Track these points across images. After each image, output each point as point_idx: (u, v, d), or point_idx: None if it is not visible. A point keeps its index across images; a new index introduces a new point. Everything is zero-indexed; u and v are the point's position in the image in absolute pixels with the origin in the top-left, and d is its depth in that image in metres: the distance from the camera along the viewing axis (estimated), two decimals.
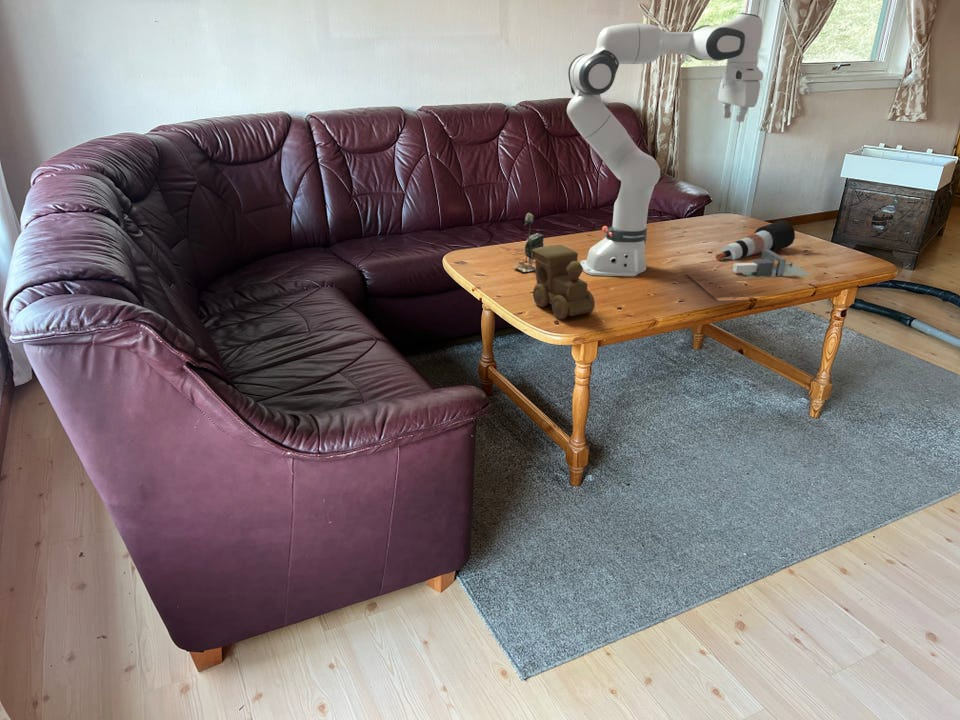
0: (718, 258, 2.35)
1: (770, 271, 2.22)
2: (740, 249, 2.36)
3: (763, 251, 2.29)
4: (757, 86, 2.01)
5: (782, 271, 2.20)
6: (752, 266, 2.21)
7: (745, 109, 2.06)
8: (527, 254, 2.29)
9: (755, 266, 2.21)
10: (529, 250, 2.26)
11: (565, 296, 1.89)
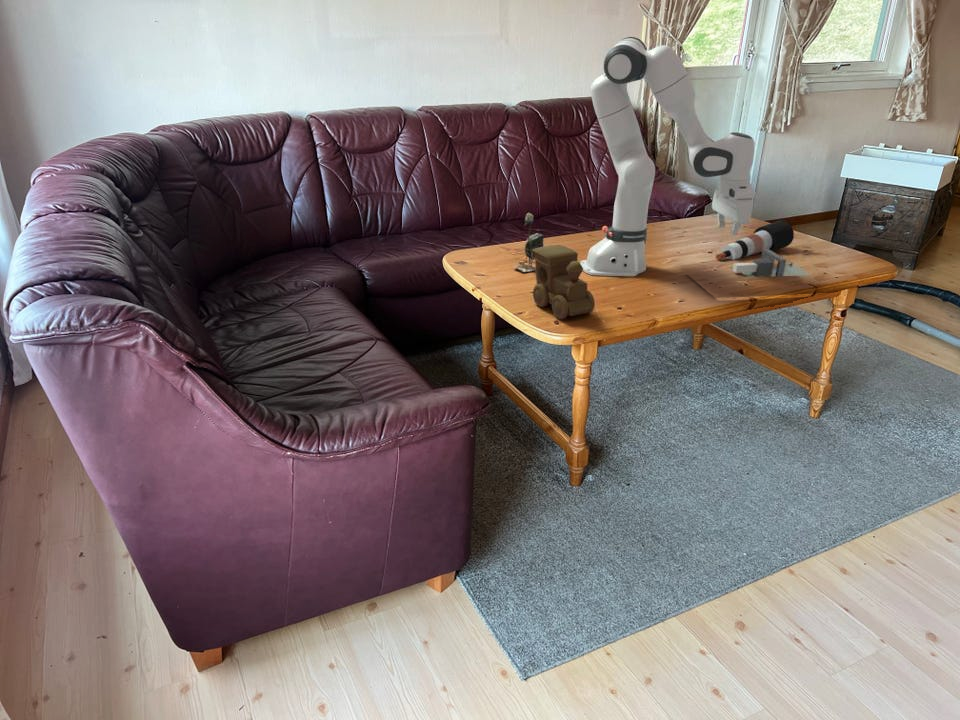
0: (718, 258, 2.35)
1: (770, 271, 2.22)
2: (740, 249, 2.36)
3: (763, 251, 2.29)
4: (749, 204, 2.03)
5: (782, 271, 2.20)
6: (752, 266, 2.21)
7: (739, 223, 2.09)
8: (527, 254, 2.29)
9: (755, 266, 2.21)
10: (529, 250, 2.26)
11: (565, 296, 1.89)
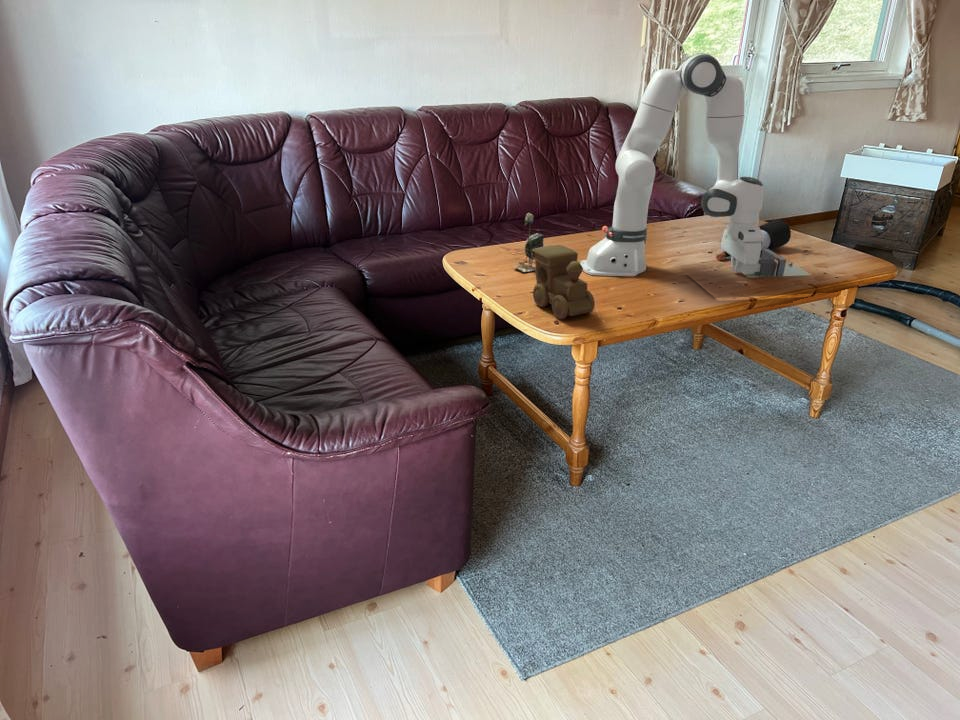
0: (718, 258, 2.35)
1: (773, 271, 2.22)
2: None
3: (763, 251, 2.29)
4: (758, 247, 2.09)
5: (782, 271, 2.20)
6: (755, 266, 2.21)
7: None
8: (527, 254, 2.29)
9: (758, 266, 2.21)
10: (529, 250, 2.26)
11: (565, 296, 1.89)
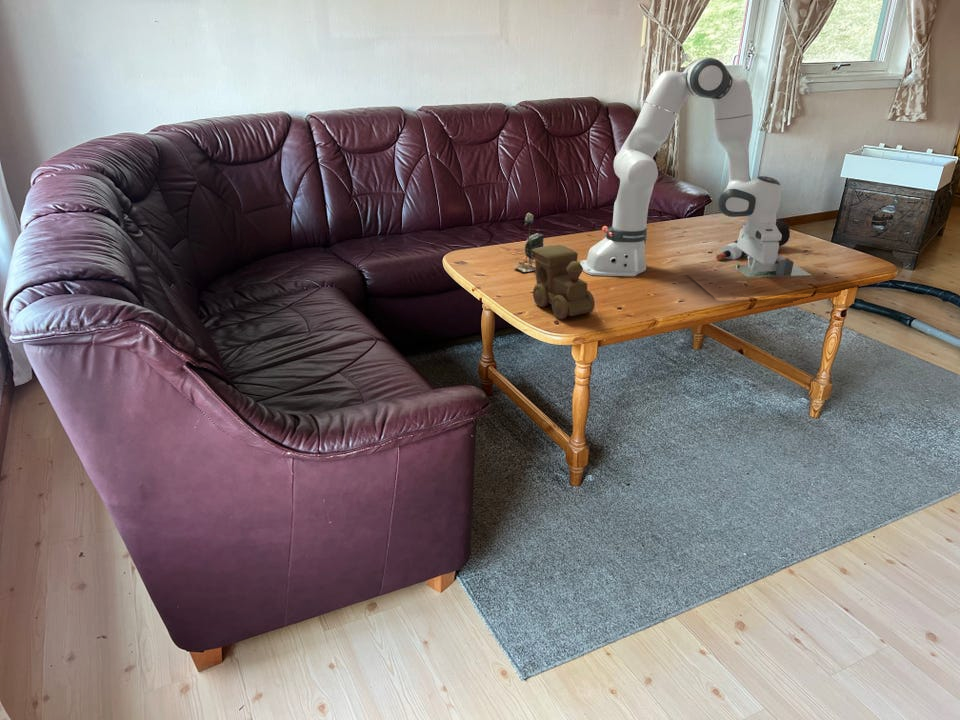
0: (719, 258, 2.35)
1: (790, 270, 2.23)
2: None
3: None
4: (775, 247, 2.10)
5: (782, 271, 2.20)
6: (772, 265, 2.22)
7: None
8: (527, 254, 2.29)
9: (775, 265, 2.22)
10: (529, 250, 2.26)
11: (565, 296, 1.89)
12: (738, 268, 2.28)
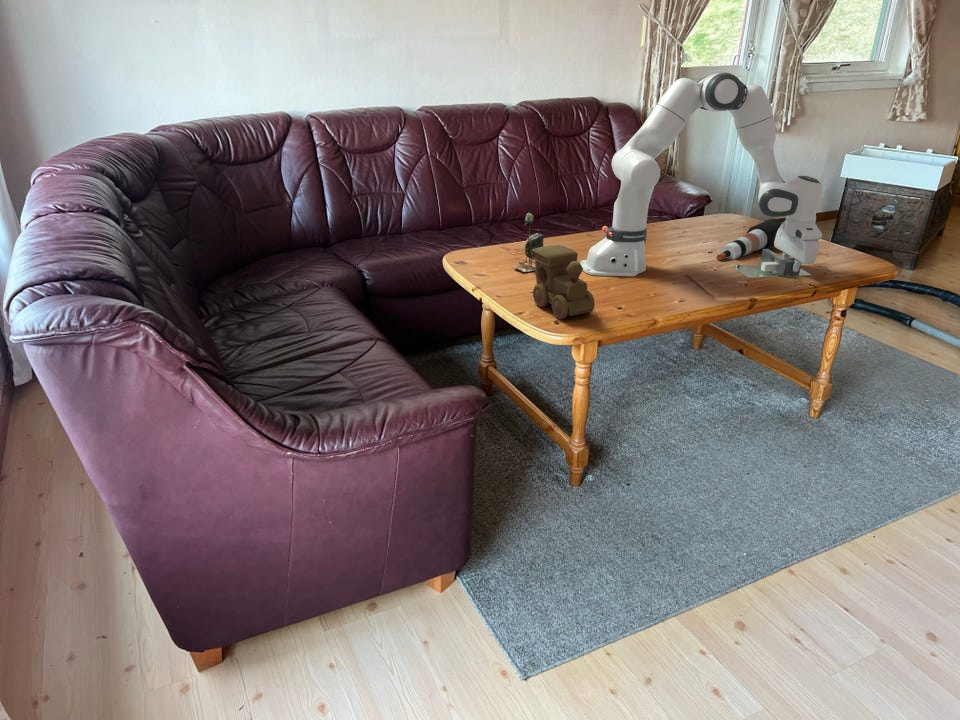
0: (719, 258, 2.35)
1: (798, 270, 2.23)
2: (739, 249, 2.36)
3: (763, 251, 2.29)
4: (816, 245, 2.12)
5: (782, 271, 2.20)
6: None
7: None
8: (527, 254, 2.29)
9: None
10: (529, 250, 2.26)
11: (565, 296, 1.89)
12: (738, 268, 2.28)
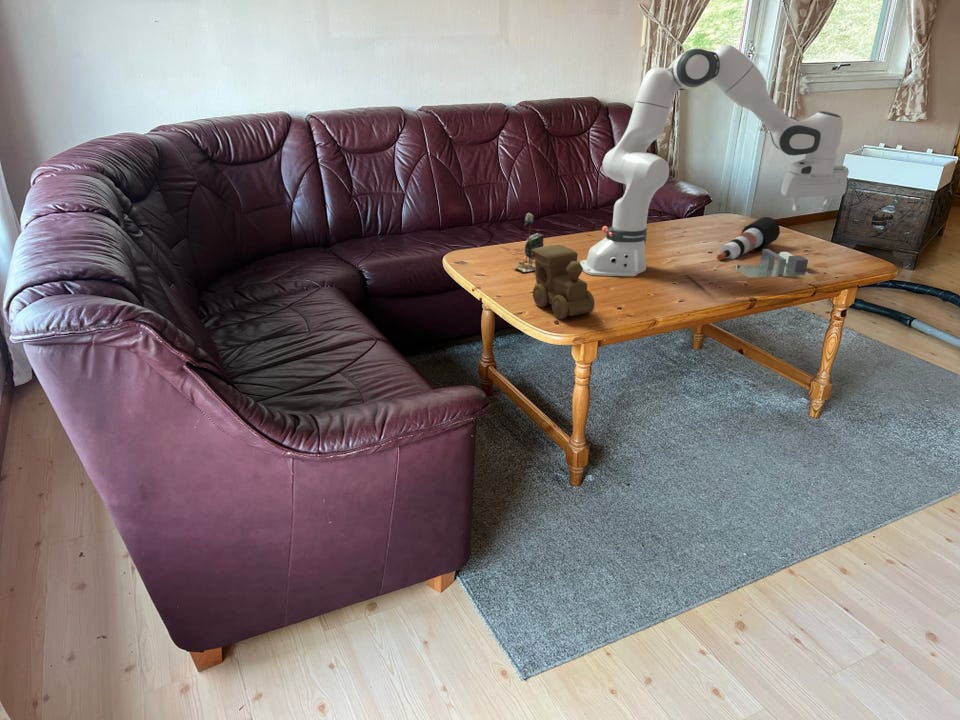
0: (720, 258, 2.35)
1: (794, 268, 2.25)
2: (738, 248, 2.37)
3: (763, 251, 2.29)
4: (790, 178, 2.11)
5: (782, 271, 2.20)
6: (787, 257, 2.29)
7: (793, 198, 2.16)
8: (527, 254, 2.29)
9: None
10: (529, 250, 2.26)
11: (565, 296, 1.89)
12: (738, 268, 2.28)
